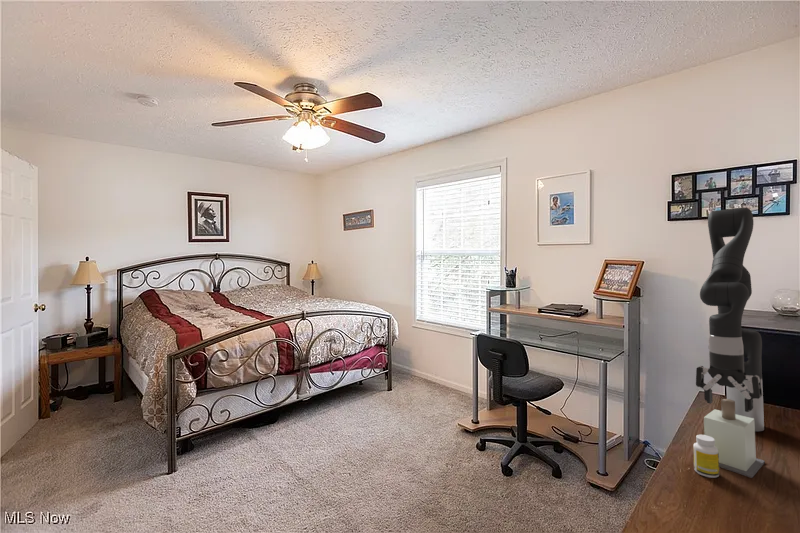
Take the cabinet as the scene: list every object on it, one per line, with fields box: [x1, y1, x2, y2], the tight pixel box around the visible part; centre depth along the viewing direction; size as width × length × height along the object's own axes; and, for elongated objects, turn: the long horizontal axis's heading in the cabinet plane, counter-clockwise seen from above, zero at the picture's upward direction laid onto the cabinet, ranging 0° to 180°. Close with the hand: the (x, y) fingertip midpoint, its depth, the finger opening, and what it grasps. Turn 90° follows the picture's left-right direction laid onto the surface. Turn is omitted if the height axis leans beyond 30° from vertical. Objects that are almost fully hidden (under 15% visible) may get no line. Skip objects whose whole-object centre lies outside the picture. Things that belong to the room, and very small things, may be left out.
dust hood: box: [703, 398, 757, 471], centre depth 108 cm, size 9×9×17 cm
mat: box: [719, 457, 765, 479], centre depth 108 cm, size 12×12×1 cm
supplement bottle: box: [692, 434, 720, 479], centre depth 103 cm, size 5×5×10 cm
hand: (728, 406), depth 108 cm, fingers open, 8 cm apart
